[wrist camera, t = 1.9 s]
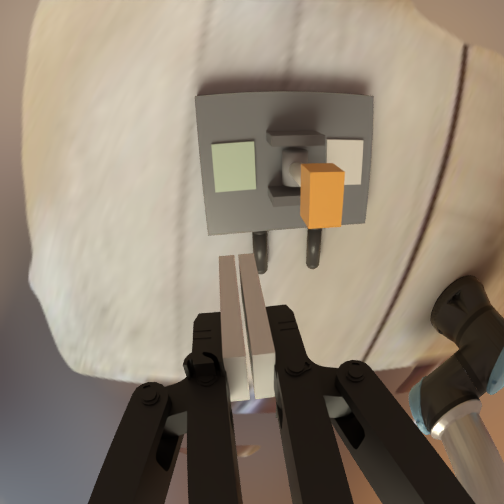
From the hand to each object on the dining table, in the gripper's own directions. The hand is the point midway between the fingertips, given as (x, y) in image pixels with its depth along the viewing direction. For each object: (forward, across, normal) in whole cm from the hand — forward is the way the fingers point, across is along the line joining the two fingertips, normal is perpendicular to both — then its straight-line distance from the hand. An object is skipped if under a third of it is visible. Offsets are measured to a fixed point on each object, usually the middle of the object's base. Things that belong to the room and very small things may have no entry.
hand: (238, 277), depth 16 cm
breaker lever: (+23, -8, 0) cm, 24 cm away
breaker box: (+26, -8, +4) cm, 28 cm away
